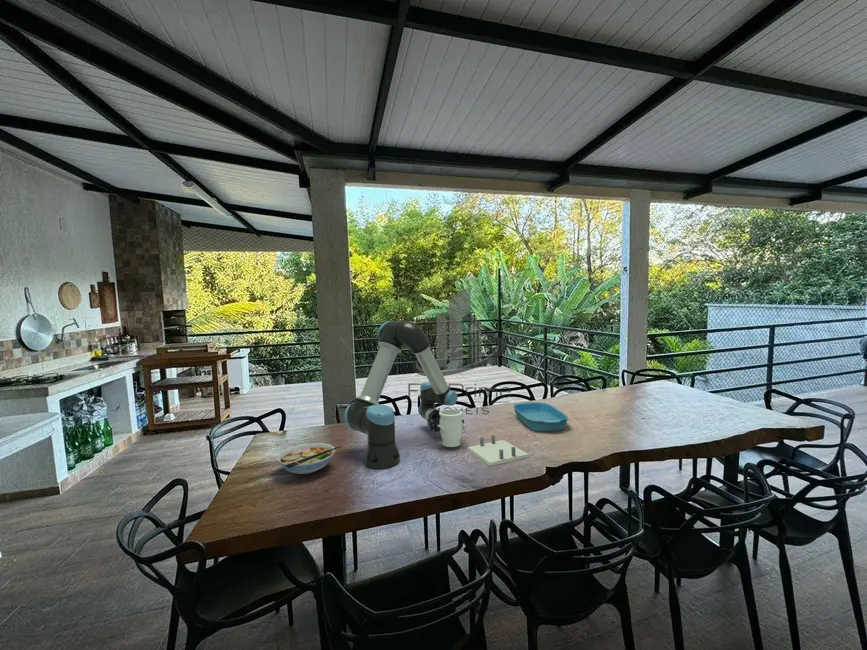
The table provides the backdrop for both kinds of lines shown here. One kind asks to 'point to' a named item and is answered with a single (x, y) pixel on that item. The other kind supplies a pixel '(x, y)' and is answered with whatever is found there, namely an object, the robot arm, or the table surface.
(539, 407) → the casserole dish
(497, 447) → the tray
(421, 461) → the table surface
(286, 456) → the ramen bowl
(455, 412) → the jar
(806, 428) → the table surface
